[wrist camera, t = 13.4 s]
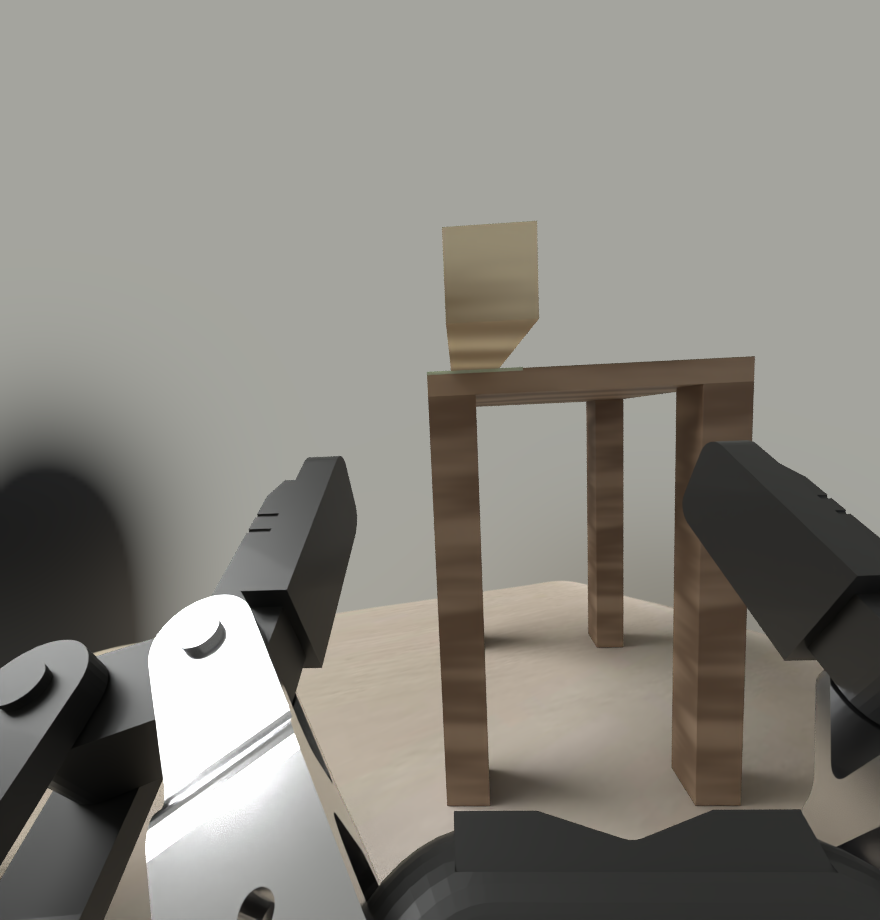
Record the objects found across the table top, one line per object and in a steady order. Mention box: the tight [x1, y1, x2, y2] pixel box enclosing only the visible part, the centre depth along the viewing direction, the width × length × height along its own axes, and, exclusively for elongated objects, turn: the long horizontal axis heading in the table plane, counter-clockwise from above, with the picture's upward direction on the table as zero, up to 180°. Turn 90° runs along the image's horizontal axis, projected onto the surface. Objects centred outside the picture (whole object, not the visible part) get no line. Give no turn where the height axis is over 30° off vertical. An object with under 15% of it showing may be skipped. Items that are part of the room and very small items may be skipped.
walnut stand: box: [427, 356, 755, 806], centre depth 37 cm, size 22×20×30 cm
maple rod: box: [442, 221, 539, 371], centre depth 29 cm, size 32×3×3 cm, turn 178°
